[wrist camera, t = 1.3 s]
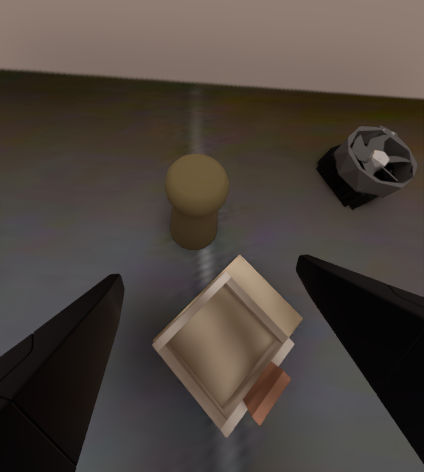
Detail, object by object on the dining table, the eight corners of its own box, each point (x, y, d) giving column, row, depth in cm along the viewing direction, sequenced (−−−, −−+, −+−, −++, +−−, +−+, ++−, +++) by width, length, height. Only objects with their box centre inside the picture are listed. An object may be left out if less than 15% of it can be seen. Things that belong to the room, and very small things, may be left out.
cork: (191, 260, 23) (195, 227, 12) (160, 225, 24) (138, 167, 13) (226, 229, 24) (254, 178, 14) (195, 198, 25) (201, 128, 15)
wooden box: (220, 420, 18) (234, 469, 13) (154, 338, 20) (142, 352, 14) (298, 317, 22) (331, 323, 17) (237, 256, 23) (251, 243, 18)
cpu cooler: (384, 197, 22) (333, 134, 25) (346, 216, 28) (307, 164, 30) (435, 170, 25) (384, 116, 27) (391, 193, 30) (352, 146, 33)
